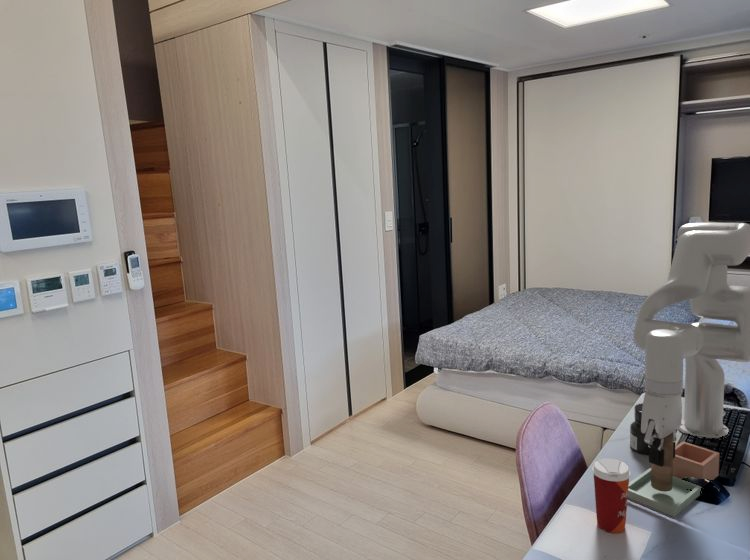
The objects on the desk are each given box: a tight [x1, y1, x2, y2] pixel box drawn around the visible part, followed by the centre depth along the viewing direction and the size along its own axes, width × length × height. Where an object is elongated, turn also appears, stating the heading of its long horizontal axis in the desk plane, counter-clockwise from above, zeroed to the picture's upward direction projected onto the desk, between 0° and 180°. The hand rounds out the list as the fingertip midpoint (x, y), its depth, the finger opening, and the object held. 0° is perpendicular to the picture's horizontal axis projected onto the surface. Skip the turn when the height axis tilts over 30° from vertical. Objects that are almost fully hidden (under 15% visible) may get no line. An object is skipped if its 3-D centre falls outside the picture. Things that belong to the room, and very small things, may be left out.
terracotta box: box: [673, 441, 720, 481], centre depth 138 cm, size 9×9×6 cm
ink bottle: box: [629, 402, 649, 457], centre depth 152 cm, size 10×9×12 cm
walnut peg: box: [650, 432, 675, 492], centre depth 130 cm, size 4×4×13 cm
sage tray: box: [627, 467, 702, 520], centre depth 132 cm, size 13×12×2 cm
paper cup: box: [591, 458, 632, 534], centre depth 122 cm, size 8×8×14 cm
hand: (662, 459), depth 130 cm, fingers closed on walnut peg, 4 cm apart
